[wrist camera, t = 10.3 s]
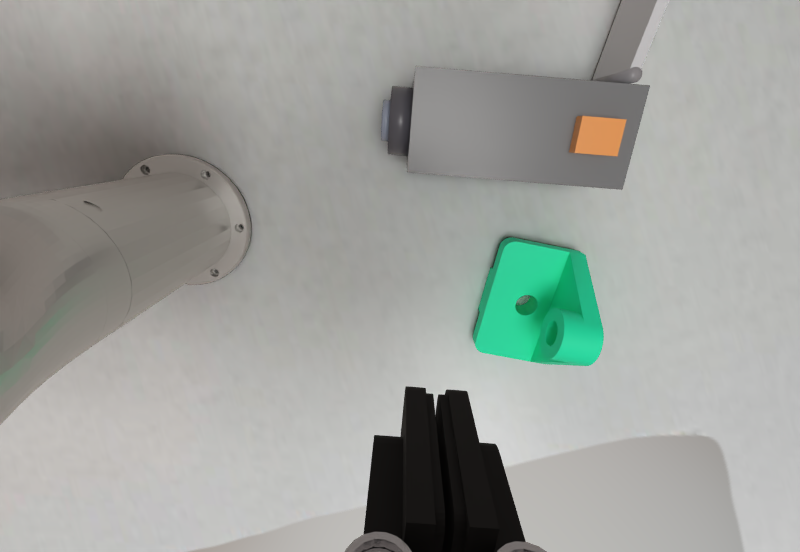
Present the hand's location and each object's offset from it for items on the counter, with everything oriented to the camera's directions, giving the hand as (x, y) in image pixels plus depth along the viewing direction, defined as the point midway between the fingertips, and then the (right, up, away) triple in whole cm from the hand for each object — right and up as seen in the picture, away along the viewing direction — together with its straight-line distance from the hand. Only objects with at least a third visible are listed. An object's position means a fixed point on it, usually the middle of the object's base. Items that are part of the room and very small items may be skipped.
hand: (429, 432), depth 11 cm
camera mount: (+12, +2, +30) cm, 33 cm away
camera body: (+7, +17, +25) cm, 31 cm away
